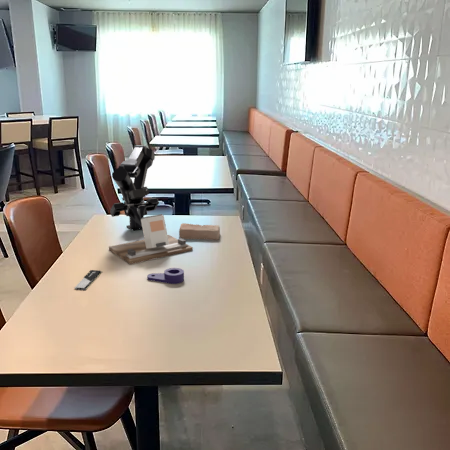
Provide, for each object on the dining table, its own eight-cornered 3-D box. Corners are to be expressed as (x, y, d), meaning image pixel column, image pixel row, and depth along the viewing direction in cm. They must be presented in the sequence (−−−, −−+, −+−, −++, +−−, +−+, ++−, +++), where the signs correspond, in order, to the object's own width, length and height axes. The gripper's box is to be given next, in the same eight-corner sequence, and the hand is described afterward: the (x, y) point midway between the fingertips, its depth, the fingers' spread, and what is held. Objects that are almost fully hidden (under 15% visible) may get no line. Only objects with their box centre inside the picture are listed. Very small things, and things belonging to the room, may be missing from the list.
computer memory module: (85, 288, 143) (72, 288, 144) (85, 291, 144) (73, 291, 144) (102, 270, 158) (91, 269, 158) (102, 273, 158) (91, 272, 158)
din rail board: (108, 249, 178) (108, 240, 177) (168, 237, 193) (168, 229, 192) (130, 264, 164) (129, 254, 163) (192, 250, 179) (192, 241, 178)
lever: (185, 277, 156) (185, 268, 155) (181, 285, 150) (181, 276, 149) (150, 275, 157) (149, 266, 156) (145, 282, 151) (144, 273, 150)
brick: (219, 234, 200) (219, 223, 199) (219, 240, 192) (219, 229, 191) (180, 233, 200) (180, 222, 199) (178, 239, 192) (178, 228, 191)
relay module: (146, 248, 174) (140, 218, 174) (162, 245, 178) (157, 215, 178) (153, 247, 169) (147, 216, 169) (170, 244, 173) (164, 213, 173)
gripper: (111, 182, 175) (125, 218, 169) (156, 177, 185) (170, 211, 180) (104, 198, 183) (117, 233, 178) (147, 193, 194) (161, 225, 188)
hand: (142, 225), depth 181 cm, fingers closed
